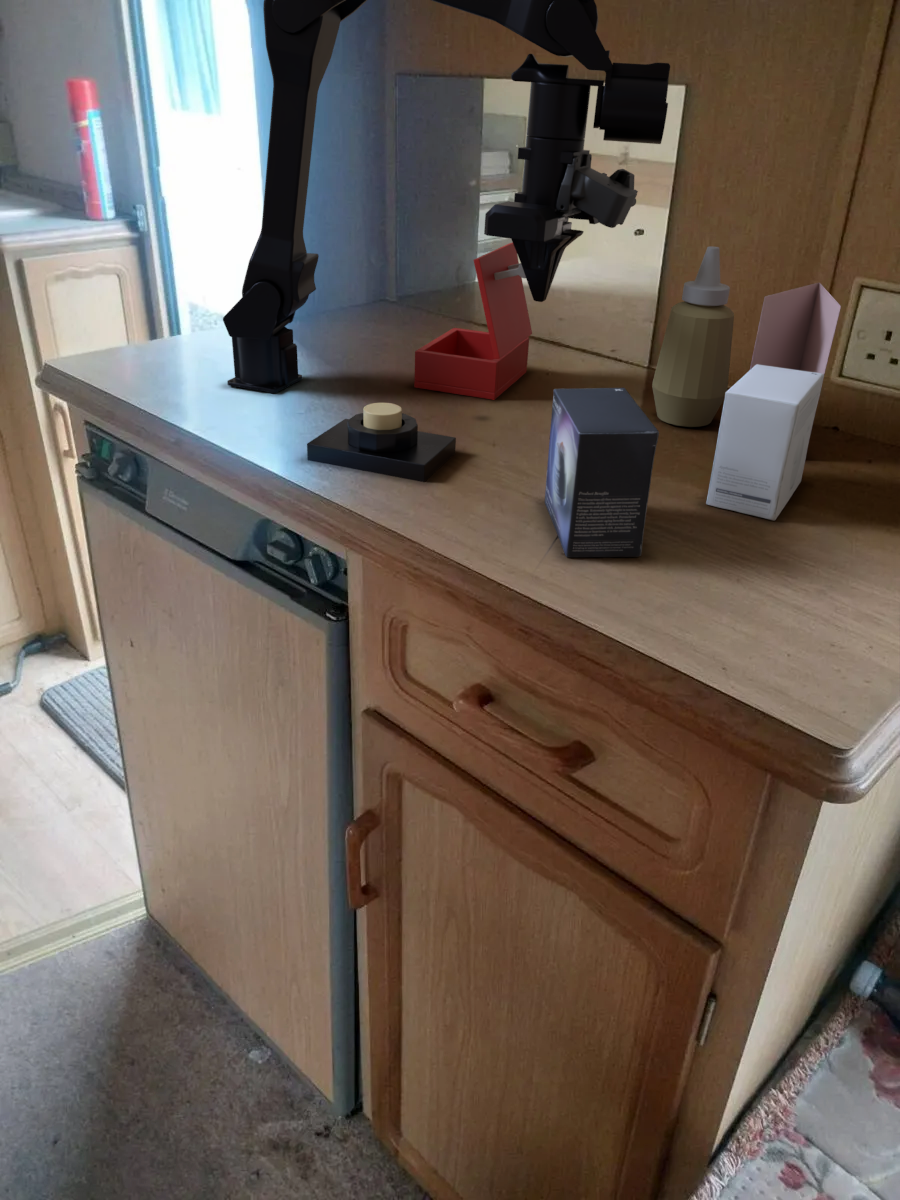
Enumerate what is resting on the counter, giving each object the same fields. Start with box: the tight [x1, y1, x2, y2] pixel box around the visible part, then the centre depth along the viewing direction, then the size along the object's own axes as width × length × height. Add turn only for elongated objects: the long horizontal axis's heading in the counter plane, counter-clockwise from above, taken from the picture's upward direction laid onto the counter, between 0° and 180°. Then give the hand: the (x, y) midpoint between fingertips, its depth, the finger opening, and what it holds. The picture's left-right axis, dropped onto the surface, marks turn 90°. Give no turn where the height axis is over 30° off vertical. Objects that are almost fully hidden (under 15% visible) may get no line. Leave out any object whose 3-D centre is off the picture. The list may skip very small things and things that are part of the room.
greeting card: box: [749, 282, 842, 375], centre depth 92 cm, size 11×7×15 cm, turn 135°
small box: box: [544, 387, 660, 558], centre depth 73 cm, size 11×6×10 cm, turn 5°
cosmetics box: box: [705, 364, 825, 521], centre depth 81 cm, size 10×6×10 cm, turn 150°
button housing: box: [306, 412, 457, 483], centre depth 87 cm, size 12×8×4 cm, turn 69°
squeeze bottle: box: [651, 246, 735, 428], centre depth 96 cm, size 8×8×18 cm
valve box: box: [413, 327, 530, 401], centre depth 110 cm, size 10×13×4 cm
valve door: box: [473, 242, 533, 359], centre depth 104 cm, size 11×13×5 cm
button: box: [362, 402, 403, 430], centre depth 86 cm, size 4×4×2 cm
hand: (539, 301), depth 97 cm, fingers closed
